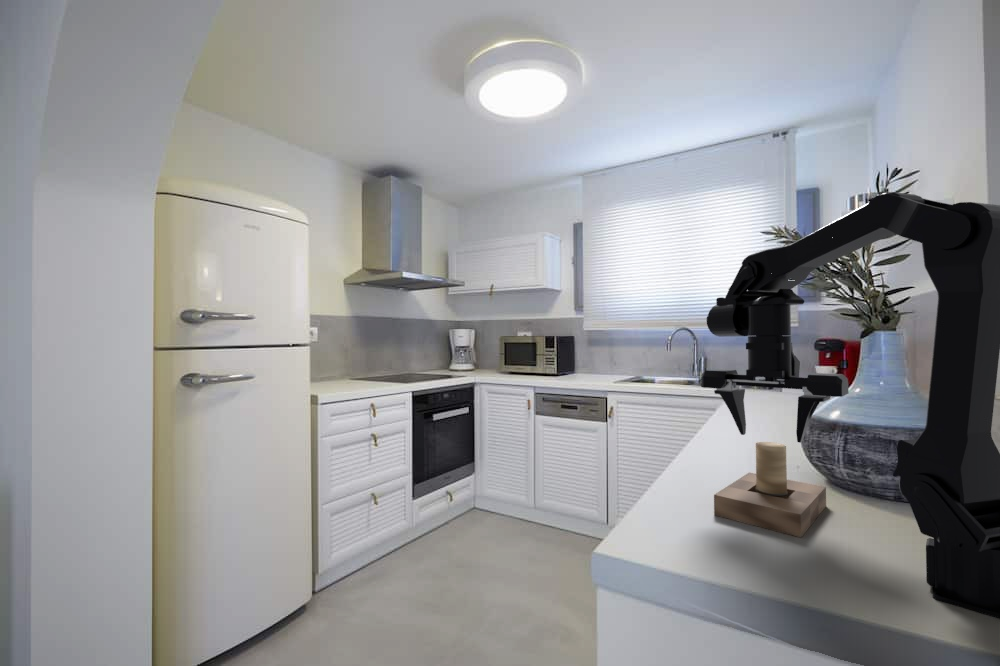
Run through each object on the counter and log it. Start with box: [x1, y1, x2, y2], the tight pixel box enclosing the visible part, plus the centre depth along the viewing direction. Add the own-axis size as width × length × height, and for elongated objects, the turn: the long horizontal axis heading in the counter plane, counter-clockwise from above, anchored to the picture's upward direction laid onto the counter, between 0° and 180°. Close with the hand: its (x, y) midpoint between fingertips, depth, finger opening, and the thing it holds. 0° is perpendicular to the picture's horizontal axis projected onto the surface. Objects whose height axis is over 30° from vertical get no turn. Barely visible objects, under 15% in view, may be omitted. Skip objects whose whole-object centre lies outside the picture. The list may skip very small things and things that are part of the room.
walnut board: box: [713, 472, 827, 538], centre depth 69 cm, size 11×16×3 cm
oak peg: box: [755, 441, 788, 499], centre depth 69 cm, size 4×4×10 cm
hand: (770, 438), depth 69 cm, fingers open, 7 cm apart
